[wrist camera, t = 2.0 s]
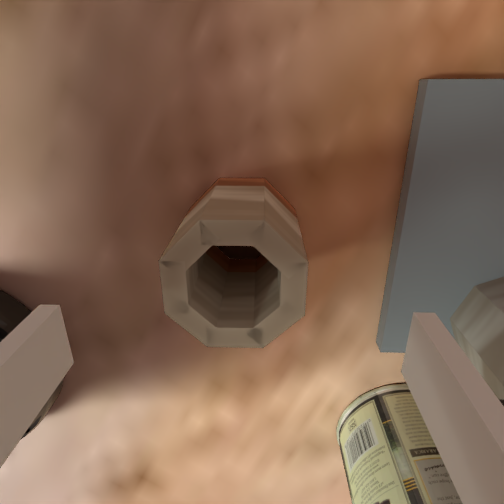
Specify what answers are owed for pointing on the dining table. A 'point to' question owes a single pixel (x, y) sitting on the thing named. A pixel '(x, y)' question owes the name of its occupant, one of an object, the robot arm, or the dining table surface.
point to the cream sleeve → (236, 266)
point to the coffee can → (391, 451)
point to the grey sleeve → (483, 331)
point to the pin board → (446, 205)
